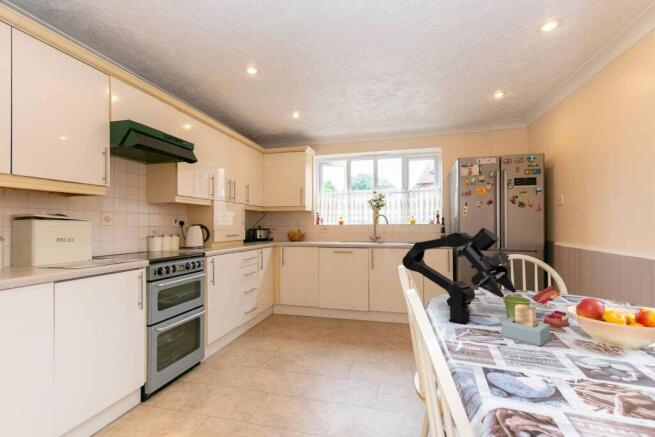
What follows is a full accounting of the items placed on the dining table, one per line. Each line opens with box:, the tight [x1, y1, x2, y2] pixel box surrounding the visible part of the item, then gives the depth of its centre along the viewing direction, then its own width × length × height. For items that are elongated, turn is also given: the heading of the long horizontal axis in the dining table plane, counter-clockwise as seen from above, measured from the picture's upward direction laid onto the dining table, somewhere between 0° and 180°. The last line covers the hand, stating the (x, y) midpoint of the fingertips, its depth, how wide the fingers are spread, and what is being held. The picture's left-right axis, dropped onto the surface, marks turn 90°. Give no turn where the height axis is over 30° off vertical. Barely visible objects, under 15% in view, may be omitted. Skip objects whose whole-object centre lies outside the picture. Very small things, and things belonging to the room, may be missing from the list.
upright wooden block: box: [515, 304, 537, 327], centre depth 100 cm, size 5×3×10 cm, turn 37°
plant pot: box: [502, 295, 532, 319], centre depth 117 cm, size 9×9×9 cm
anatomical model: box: [531, 285, 570, 328], centre depth 115 cm, size 10×8×15 cm
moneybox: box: [501, 317, 551, 348], centre depth 100 cm, size 11×9×5 cm
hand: (509, 294), depth 104 cm, fingers open, 9 cm apart
